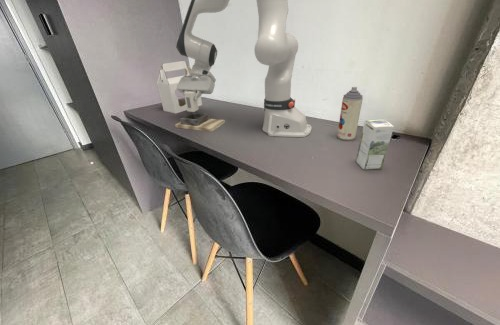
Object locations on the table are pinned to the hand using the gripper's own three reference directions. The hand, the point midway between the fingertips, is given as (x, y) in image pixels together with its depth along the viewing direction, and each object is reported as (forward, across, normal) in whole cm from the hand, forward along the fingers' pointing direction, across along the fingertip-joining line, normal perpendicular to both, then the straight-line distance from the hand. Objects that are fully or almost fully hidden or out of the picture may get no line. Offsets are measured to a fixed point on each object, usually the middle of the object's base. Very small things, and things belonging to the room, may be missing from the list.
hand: (190, 99), depth 109 cm
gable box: (-9, -29, +28) cm, 41 cm away
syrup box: (+21, +81, -4) cm, 84 cm away
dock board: (+9, +3, +9) cm, 13 cm away
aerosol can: (+6, +73, +11) cm, 74 cm away
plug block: (+4, 0, +4) cm, 5 cm away
